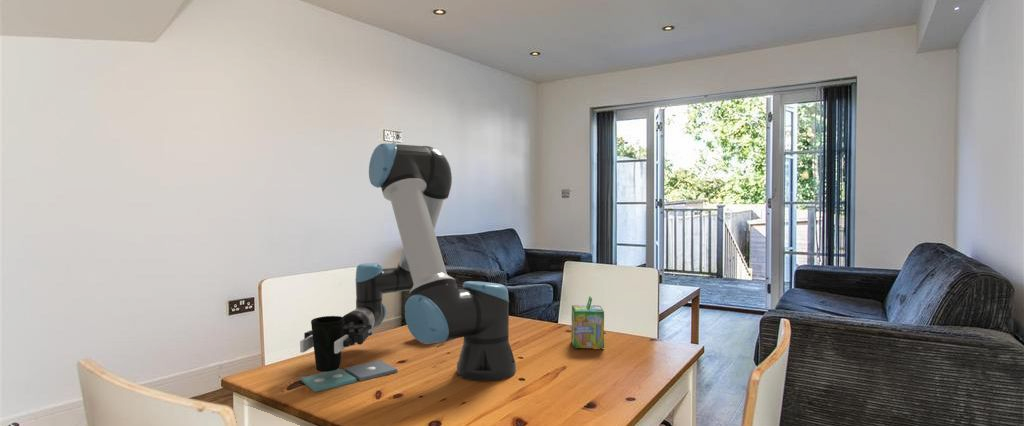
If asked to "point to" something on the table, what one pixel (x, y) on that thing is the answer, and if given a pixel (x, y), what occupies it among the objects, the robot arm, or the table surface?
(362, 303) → the robot arm
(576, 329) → the green printed box
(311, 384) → the tile two
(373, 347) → the table surface
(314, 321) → the cup
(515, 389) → the table surface
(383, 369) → the tile one
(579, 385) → the table surface
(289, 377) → the table surface
